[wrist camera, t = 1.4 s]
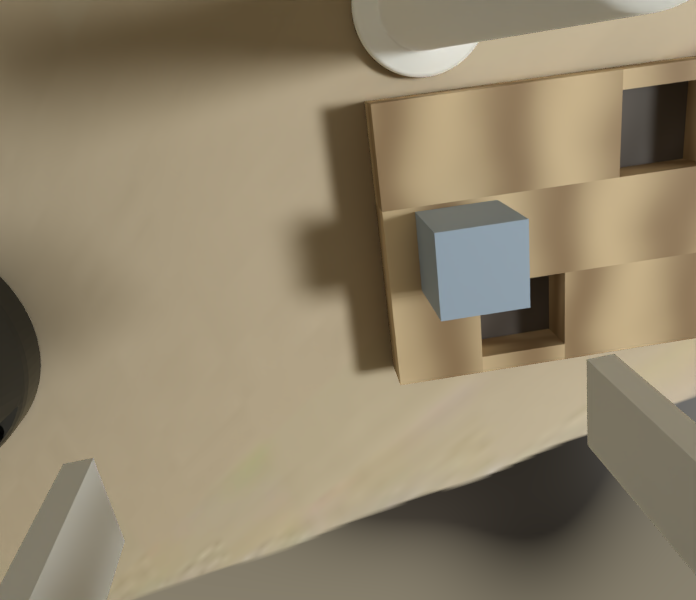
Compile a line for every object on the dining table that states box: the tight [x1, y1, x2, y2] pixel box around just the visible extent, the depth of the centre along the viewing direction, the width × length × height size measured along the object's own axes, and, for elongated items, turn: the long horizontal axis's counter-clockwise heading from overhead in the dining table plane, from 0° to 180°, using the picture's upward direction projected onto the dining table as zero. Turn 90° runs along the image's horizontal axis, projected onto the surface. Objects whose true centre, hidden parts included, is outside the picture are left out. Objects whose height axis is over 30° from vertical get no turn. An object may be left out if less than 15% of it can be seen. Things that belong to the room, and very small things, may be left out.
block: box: [415, 200, 530, 321], centre depth 31 cm, size 4×4×4 cm
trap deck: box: [365, 56, 696, 385], centre depth 33 cm, size 24×16×6 cm, turn 97°
